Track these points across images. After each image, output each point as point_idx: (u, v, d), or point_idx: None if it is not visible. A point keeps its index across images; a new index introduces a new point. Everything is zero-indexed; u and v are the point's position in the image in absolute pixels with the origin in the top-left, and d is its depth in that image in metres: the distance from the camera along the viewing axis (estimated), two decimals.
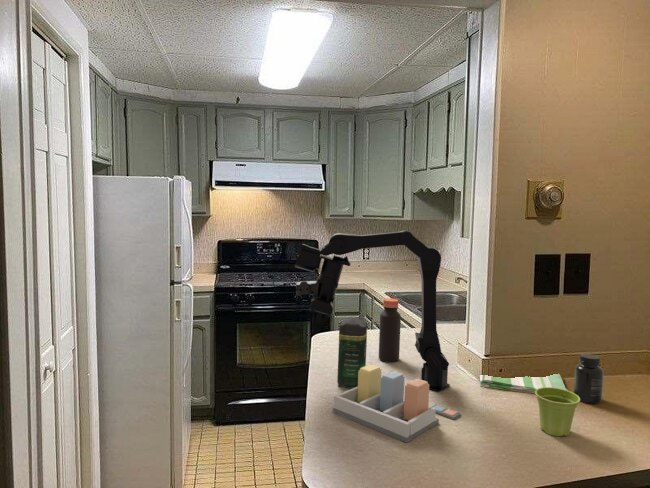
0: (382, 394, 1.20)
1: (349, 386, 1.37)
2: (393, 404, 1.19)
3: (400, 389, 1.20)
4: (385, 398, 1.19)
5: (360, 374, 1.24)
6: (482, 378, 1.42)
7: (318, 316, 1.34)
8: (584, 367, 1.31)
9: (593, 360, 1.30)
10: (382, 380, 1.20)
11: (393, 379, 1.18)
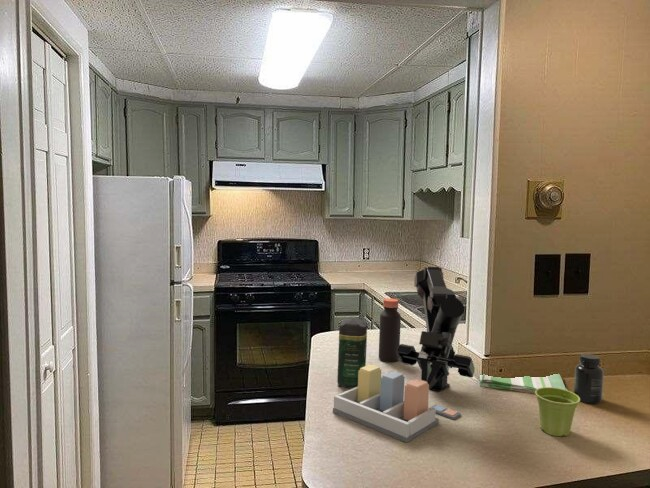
0: (382, 394, 1.20)
1: (349, 386, 1.37)
2: (393, 404, 1.19)
3: (400, 389, 1.20)
4: (385, 398, 1.19)
5: (360, 374, 1.24)
6: (482, 378, 1.43)
7: (436, 373, 1.20)
8: (584, 367, 1.31)
9: (593, 360, 1.30)
10: (382, 380, 1.20)
11: (393, 379, 1.18)
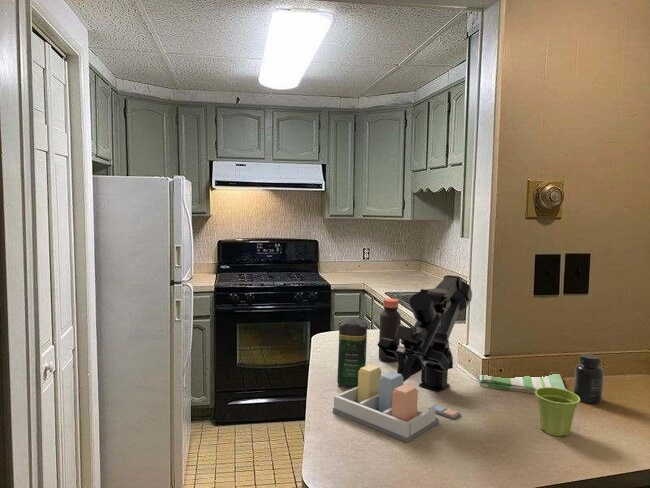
0: (381, 395, 1.20)
1: (349, 386, 1.37)
2: None
3: None
4: (384, 398, 1.19)
5: (360, 374, 1.24)
6: (482, 378, 1.43)
7: (411, 366, 1.24)
8: (584, 367, 1.31)
9: (593, 360, 1.30)
10: (381, 380, 1.19)
11: (392, 379, 1.18)
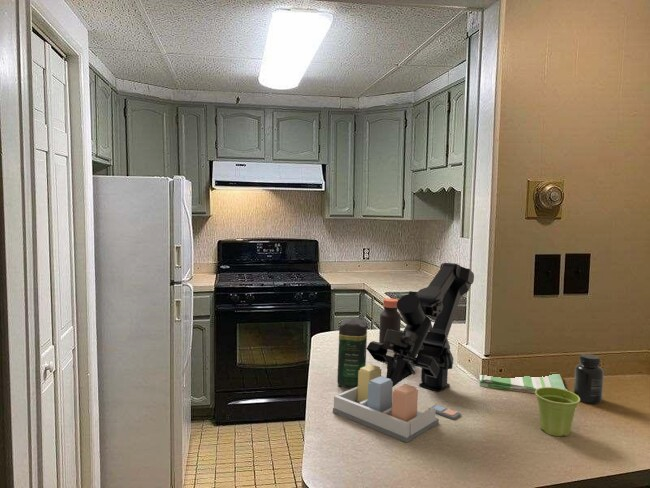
0: (370, 400, 1.16)
1: (349, 386, 1.37)
2: (380, 410, 1.15)
3: (388, 395, 1.17)
4: (373, 404, 1.16)
5: (360, 374, 1.24)
6: (481, 378, 1.43)
7: (401, 371, 1.21)
8: (584, 367, 1.31)
9: (593, 360, 1.30)
10: (369, 385, 1.16)
11: (381, 384, 1.15)
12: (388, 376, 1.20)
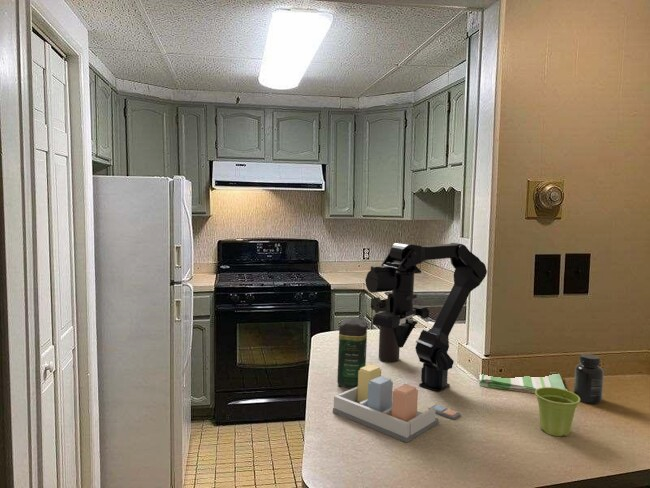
0: (370, 400, 1.16)
1: (349, 386, 1.37)
2: (380, 410, 1.15)
3: (388, 395, 1.17)
4: (373, 404, 1.16)
5: (360, 374, 1.24)
6: (481, 377, 1.43)
7: (398, 329, 1.32)
8: (584, 367, 1.31)
9: (593, 360, 1.30)
10: (369, 385, 1.16)
11: (381, 384, 1.15)
12: None
